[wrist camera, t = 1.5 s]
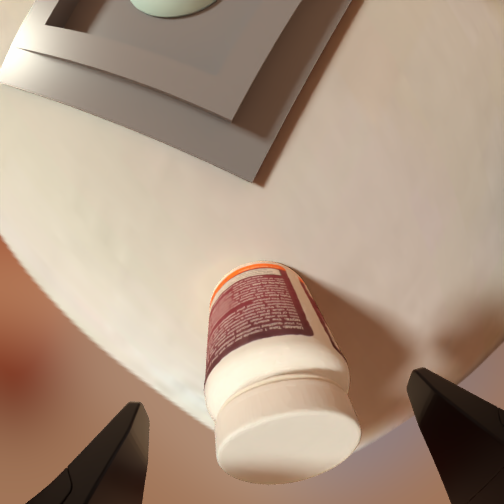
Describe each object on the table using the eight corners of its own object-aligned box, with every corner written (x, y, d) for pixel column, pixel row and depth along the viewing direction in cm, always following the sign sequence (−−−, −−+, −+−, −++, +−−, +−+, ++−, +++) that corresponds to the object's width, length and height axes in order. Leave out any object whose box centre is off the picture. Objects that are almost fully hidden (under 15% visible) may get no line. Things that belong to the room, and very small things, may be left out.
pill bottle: (193, 322, 15) (174, 473, 7) (241, 240, 14) (260, 377, 6) (275, 356, 16) (306, 495, 8) (327, 285, 15) (407, 417, 7)
